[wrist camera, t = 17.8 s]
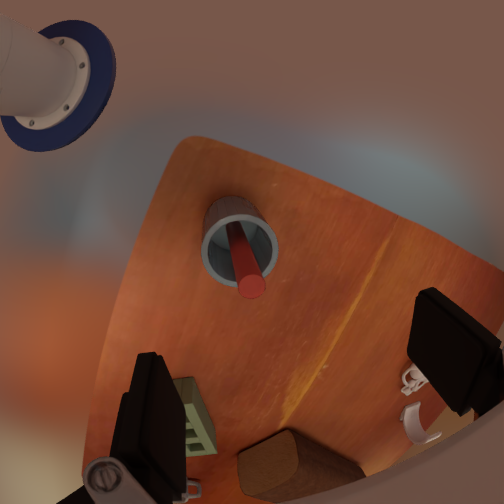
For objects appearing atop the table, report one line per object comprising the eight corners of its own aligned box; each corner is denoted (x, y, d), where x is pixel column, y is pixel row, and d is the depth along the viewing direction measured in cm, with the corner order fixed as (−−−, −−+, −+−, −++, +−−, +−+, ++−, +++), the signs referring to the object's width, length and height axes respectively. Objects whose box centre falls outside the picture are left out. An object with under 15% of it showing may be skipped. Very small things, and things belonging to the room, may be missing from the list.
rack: (184, 433, 50) (183, 457, 44) (156, 381, 44) (152, 407, 39) (215, 429, 50) (217, 453, 45) (193, 376, 45) (192, 403, 39)
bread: (317, 486, 68) (329, 520, 55) (232, 453, 54) (239, 504, 42) (361, 463, 66) (377, 497, 54) (290, 423, 53) (307, 476, 40)
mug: (161, 481, 57) (161, 501, 51) (161, 470, 55) (160, 492, 49) (199, 484, 59) (201, 504, 53) (201, 474, 57) (203, 496, 51)
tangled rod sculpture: (428, 381, 58) (437, 391, 54) (384, 395, 54) (393, 408, 51) (461, 313, 51) (474, 323, 47) (419, 322, 47) (432, 335, 44)
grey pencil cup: (209, 256, 38) (210, 293, 29) (197, 202, 36) (193, 222, 26) (264, 246, 39) (282, 279, 29) (256, 191, 36) (273, 207, 27)
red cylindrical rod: (228, 237, 37) (242, 302, 22) (223, 222, 36) (234, 279, 21) (243, 232, 37) (268, 294, 22) (239, 217, 36) (261, 270, 21)
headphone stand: (419, 400, 58) (442, 433, 47) (411, 415, 61) (432, 447, 49) (405, 406, 58) (427, 440, 47) (397, 420, 60) (417, 453, 49)
